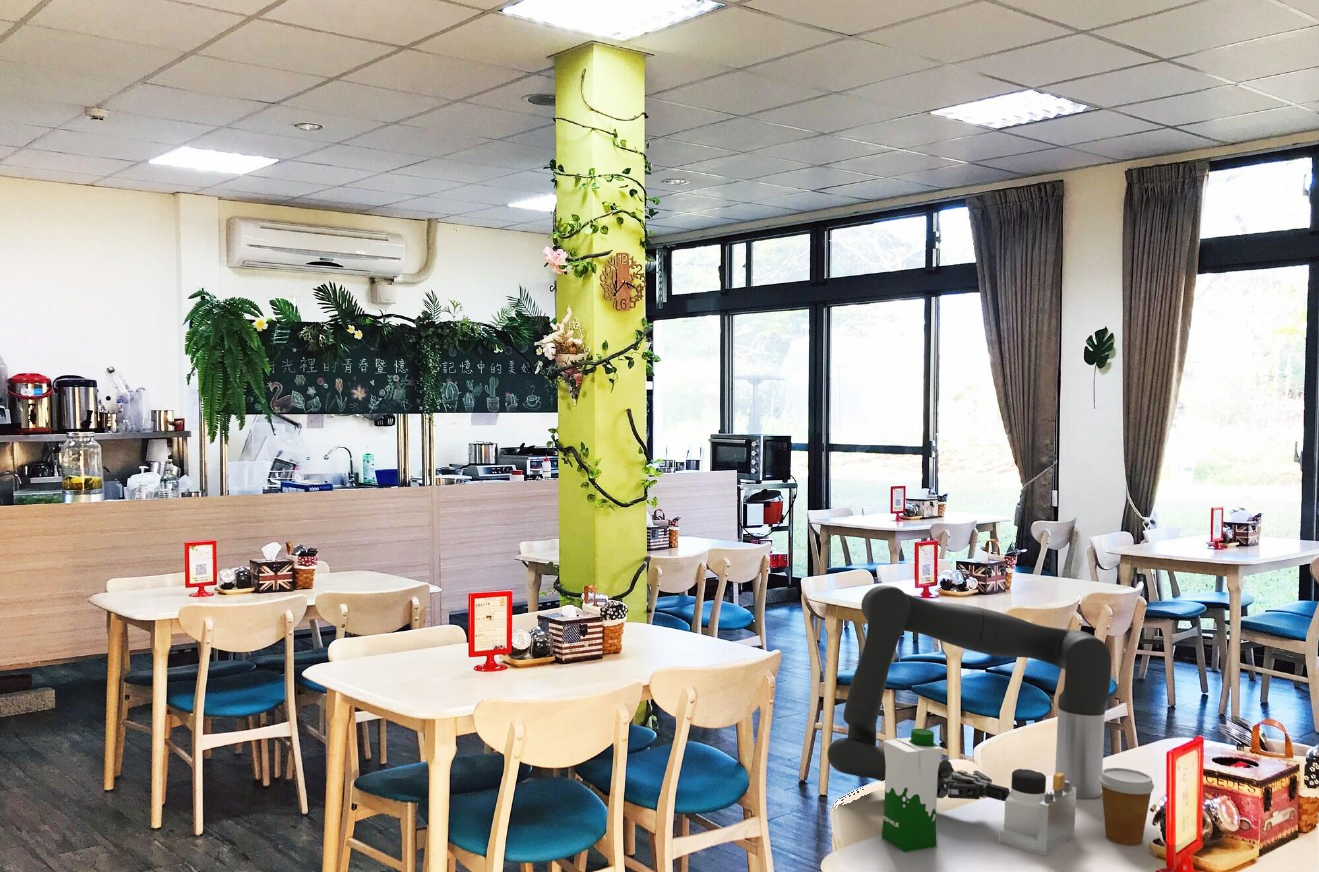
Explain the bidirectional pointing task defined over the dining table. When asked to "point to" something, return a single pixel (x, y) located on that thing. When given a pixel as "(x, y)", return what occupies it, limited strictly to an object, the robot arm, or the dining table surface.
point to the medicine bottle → (1024, 801)
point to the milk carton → (911, 791)
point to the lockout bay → (1049, 821)
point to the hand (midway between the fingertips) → (1007, 795)
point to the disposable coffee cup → (1125, 804)
